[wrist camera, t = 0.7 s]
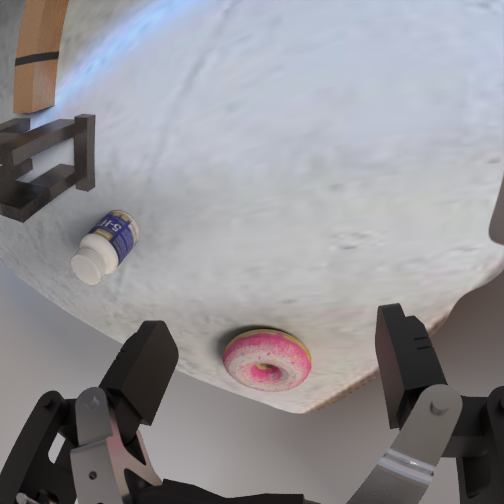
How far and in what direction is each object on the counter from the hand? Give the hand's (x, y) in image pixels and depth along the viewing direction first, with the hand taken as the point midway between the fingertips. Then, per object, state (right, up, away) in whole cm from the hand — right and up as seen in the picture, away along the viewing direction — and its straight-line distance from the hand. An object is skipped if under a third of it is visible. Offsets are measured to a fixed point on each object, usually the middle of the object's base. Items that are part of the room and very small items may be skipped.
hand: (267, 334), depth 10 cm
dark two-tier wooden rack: (-27, +17, +18) cm, 37 cm away
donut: (+2, -12, +33) cm, 36 cm away
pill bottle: (-17, +6, +24) cm, 30 cm away
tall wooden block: (-24, +29, +9) cm, 39 cm away
